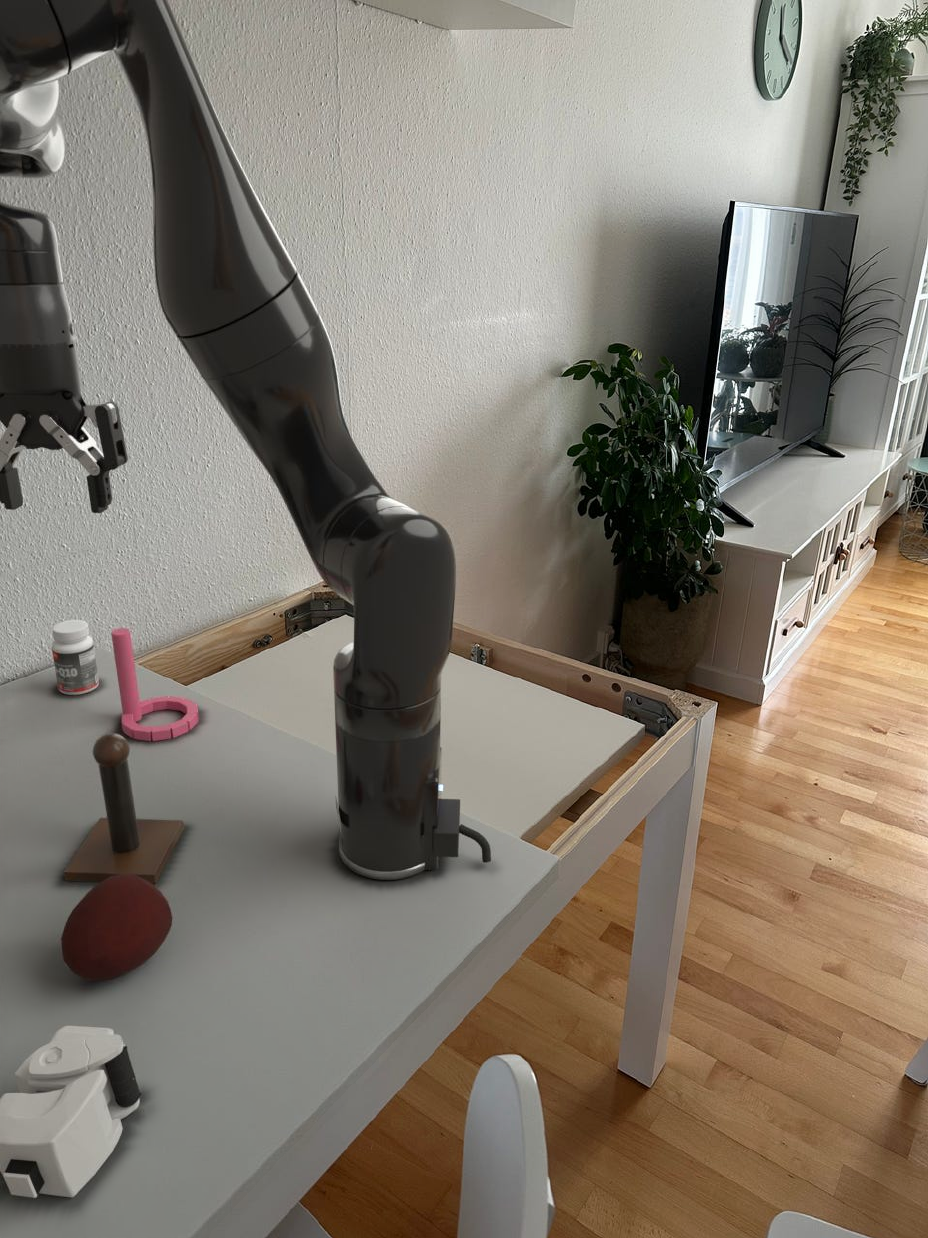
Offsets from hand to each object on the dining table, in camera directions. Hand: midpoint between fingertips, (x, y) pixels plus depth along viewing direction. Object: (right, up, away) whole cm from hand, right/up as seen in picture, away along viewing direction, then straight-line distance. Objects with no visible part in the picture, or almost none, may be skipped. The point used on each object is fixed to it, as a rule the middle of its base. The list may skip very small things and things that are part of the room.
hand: (57, 509), depth 87 cm
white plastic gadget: (+16, -38, -27) cm, 50 cm away
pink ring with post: (+4, -23, +17) cm, 29 cm away
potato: (+14, -38, -17) cm, 44 cm away
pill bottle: (-8, -19, +25) cm, 33 cm away
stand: (+9, -32, -5) cm, 34 cm away
